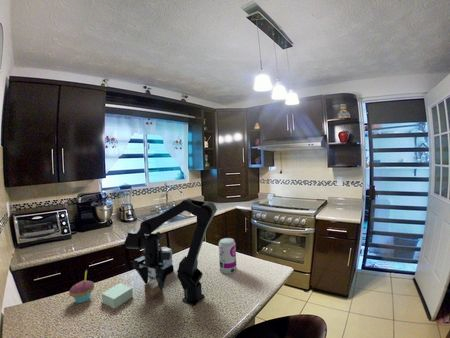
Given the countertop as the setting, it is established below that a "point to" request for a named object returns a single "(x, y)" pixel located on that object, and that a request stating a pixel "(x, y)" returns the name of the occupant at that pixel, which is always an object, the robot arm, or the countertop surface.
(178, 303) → the countertop surface
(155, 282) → the walnut cube
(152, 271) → the light bulb box
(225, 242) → the supplement can
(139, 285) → the countertop surface
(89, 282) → the cupcake
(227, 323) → the countertop surface
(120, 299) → the sage block
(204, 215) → the robot arm
